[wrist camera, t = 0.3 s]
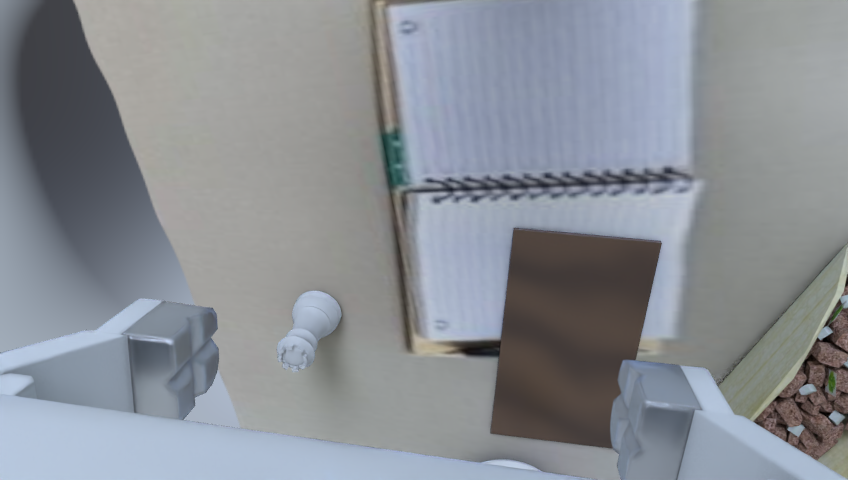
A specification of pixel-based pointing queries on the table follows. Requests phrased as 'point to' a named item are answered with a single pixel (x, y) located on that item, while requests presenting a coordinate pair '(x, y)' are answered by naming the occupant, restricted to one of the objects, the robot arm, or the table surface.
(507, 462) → the flower in vase
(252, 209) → the table surface
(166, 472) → the robot arm
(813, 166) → the table surface
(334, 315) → the rook chess piece
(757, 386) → the taco
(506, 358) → the brown wooden board
